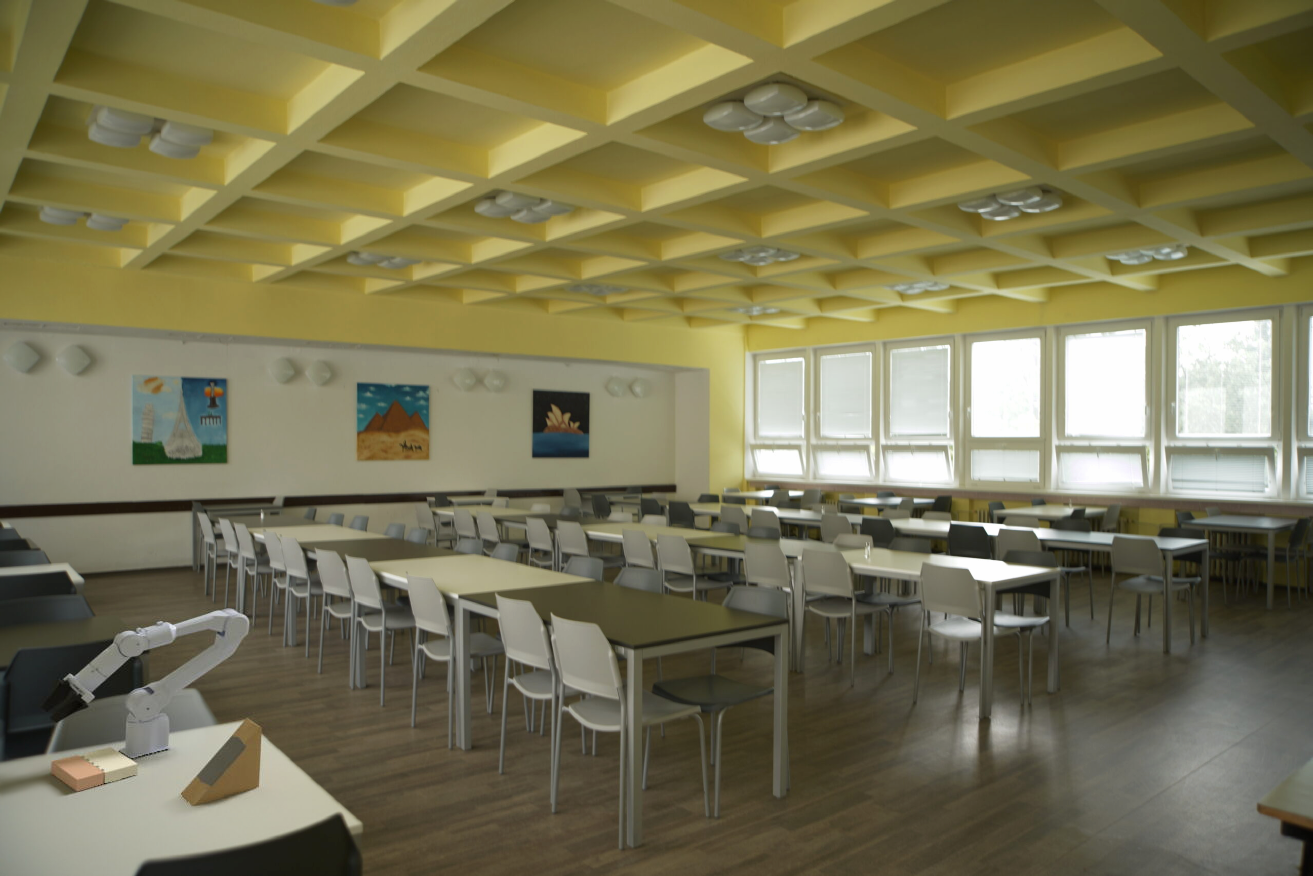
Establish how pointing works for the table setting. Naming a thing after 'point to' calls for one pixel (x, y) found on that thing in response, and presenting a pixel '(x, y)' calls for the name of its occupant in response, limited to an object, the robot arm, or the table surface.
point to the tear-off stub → (77, 773)
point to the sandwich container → (229, 767)
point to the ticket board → (111, 764)
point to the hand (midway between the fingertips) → (48, 714)
